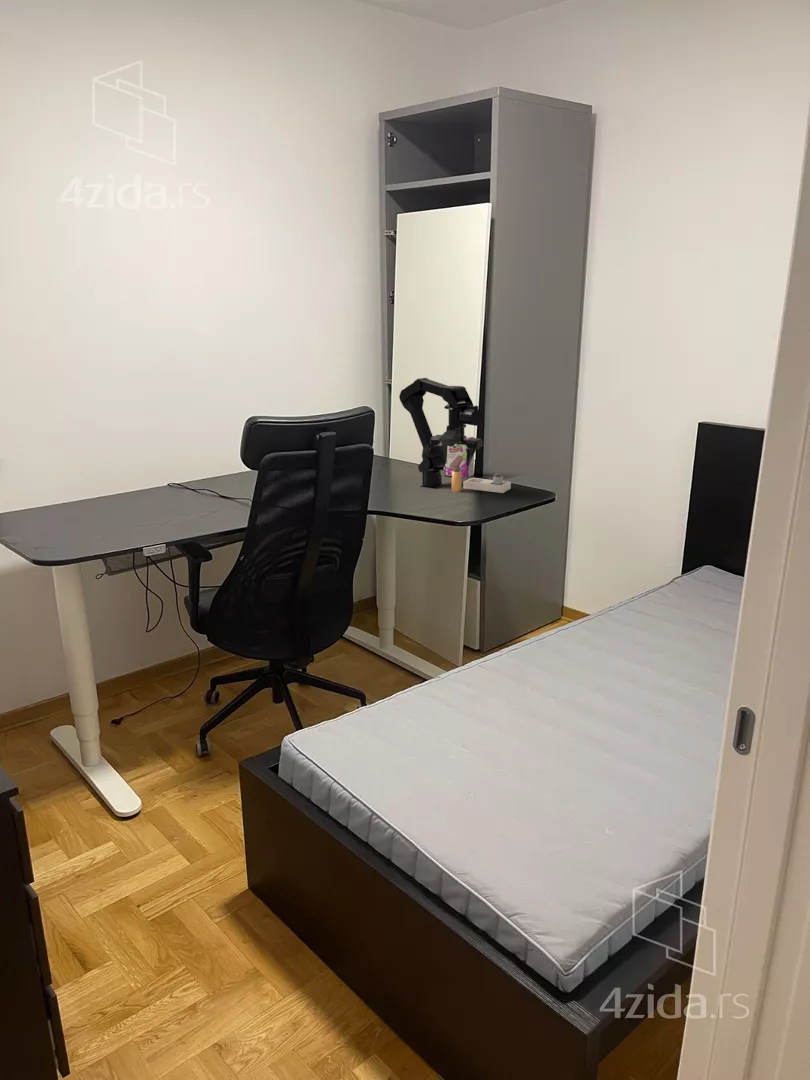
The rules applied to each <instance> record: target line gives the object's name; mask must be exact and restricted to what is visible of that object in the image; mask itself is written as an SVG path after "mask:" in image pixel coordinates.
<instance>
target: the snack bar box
mask: <svg viewBox="0 0 810 1080" xmlns="http://www.w3.org/2000/svg"><path fill="white" fill-rule="evenodd" d="M465 436H466V439H464V440H469V439H471V438H475V437H474V436H470V435H469V436H468V435H465ZM467 448H468V447H467V446H466V445H460V444H455V445H454V446H452V447H449V446H448V447H447V462H446V464H445V466H444V470H443V471H444V474H443V475H450V476H452V470H453V468H454V467H459V468H460V470H461V477H463V478H462V479H464V478H471V477H472V476H474V475H475V473H474V472H475V471H474V470H475V454H474V455H473V457H472V460H471V462H470V464H469V466H468V467H467V465H466V459H467V452H466V449H467Z"/></svg>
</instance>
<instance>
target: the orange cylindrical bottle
mask: <svg viewBox="0 0 810 1080" xmlns="http://www.w3.org/2000/svg"><path fill="white" fill-rule="evenodd" d="M451 492H453V493H460V492H462V478H461V470H460V468H459V467H454V468H453V470H452V477H451Z"/></svg>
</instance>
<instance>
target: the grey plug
mask: <svg viewBox="0 0 810 1080" xmlns="http://www.w3.org/2000/svg"><path fill="white" fill-rule="evenodd" d="M492 480H493V484H494V485H503V481H504V476H503V475H502V473H501V472H496V473H494V475H493V477H492Z"/></svg>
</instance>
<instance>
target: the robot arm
mask: <svg viewBox="0 0 810 1080" xmlns="http://www.w3.org/2000/svg"><path fill="white" fill-rule="evenodd" d="M427 393H430V394H432V395H436V396H438V397H440V398H442V400H443V401H445V402H446V403H447V404H446V405H445V406H444V407H443V408H444V409H445V410H448V424H447V425H446V430H445V432H443V433H442V434H435V435H433V433H432V430H431V427H430V425H429V422H428V420H427V417H426V415H425V412H424V409H423V407H424V406H423V405H424V397H425V395H426V394H427ZM398 398H399V400H400V403H401V405H402V407H403V409H405V410H406V411H407V412H408V413H409V414H410V417H411V419H412V422H413V425H414V428H415V430H416V432H417V434H418V439H419V441H420V444H421V446H422V452H421V458H422V461H421V462H420V463H419V464H418V465H417V468H418V472H419V473H422V474H421V475H422V478H421V479H422V484H421V485H420V488H427V489H437V488H440V487H442V486H443V483H442V481H443V480H442V478H443V477H442V474H441V471H444V466H445V464H446V462H447V447H448V446H449V447H452V446H454V445H455V444H460V445H466V446H467V447H468V448H467V449H466V452H467V459H466V465H467V467H468V466H469V464H470V462H471V460H472V457H473V455H474V456H475V453H476V451H477V450H478V449H480V448H482V447H483V446H484V441H483V439H482V438H479V437H478V438H477V437H474V438H471V439H469V440H464V439H466V436H467V435H465V428H467V425H469V426H475V427H476V426H479V425H480V424H481V423H482V421H483V413H482V411H481V410H480V409H479V405H474V403H473V401H472V398H471V397H470V395H469V392H468V391H467V387H465V386H464V385H463V386H462V385H447V384H444V383H441V382H438V381H435V380H432V379H429V378H427V377H420V378H417V379H415V380H414V381H413V383H409V385H408V386H406V387H405V388H403V389H402V390H401V391H400V393H399V396H398Z"/></svg>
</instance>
